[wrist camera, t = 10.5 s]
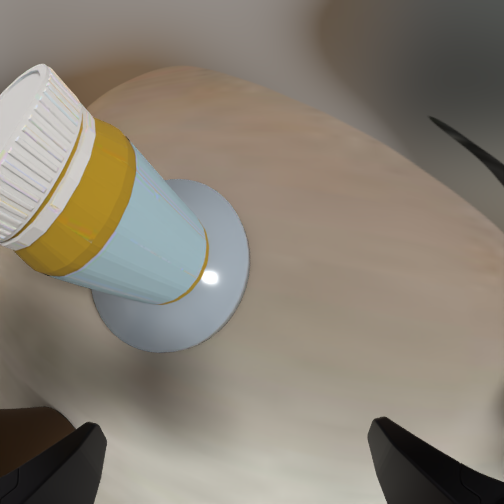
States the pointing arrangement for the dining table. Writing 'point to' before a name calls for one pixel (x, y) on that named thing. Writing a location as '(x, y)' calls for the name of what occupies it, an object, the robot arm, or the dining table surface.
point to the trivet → (204, 293)
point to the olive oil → (28, 434)
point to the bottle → (90, 199)
